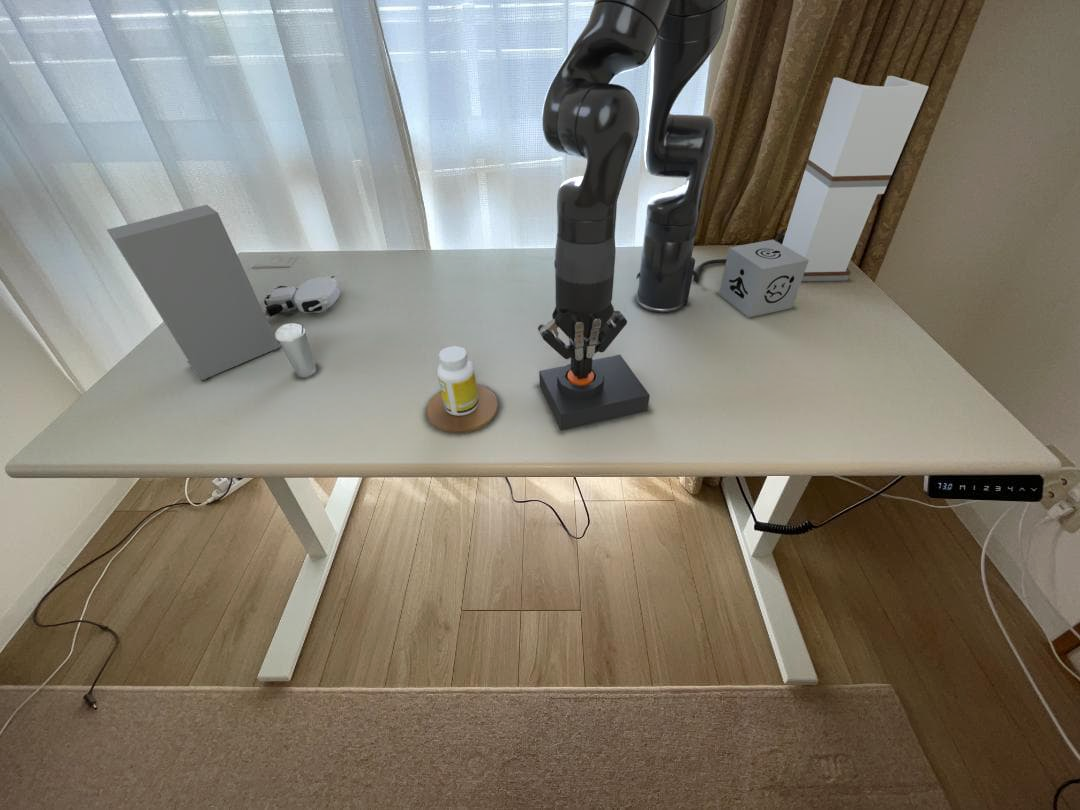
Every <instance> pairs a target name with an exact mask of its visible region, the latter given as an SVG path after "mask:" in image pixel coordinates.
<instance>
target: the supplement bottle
mask: <svg viewBox="0 0 1080 810" xmlns="http://www.w3.org/2000/svg"><path fill="white" fill-rule="evenodd" d="M438 359H439V365H438V366H437V370H436V372H437V373H436V374H437V379H438V384H439V390H440V391H441V394H442V399H443V403H444V407H445V409H446V411H447V412H448V413H450V414H452V415H457V416H461V415H467V414H469V413H471V412H473V411H474V410H475V409H476V408H477V406H478V403H479V399H478V392H477V386H476V385H477V379H476V373H475V368H474V364H473V363H472V361H470V360H469V358H468V352H467V350H466V349H465V348H464V347H463V346H458V345H452V346H447V347H445V348H443V349H441V350H440V352H439V353H438Z"/></svg>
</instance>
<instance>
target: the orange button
mask: <svg viewBox="0 0 1080 810" xmlns="http://www.w3.org/2000/svg"><path fill="white" fill-rule="evenodd" d="M567 381H568V382H570V383H572V384H574V385H580V386H584V385H588V384H591V383H592V382H593V381H594V373H593V372H592V371H591V373H590V374H588V378H583V379H578V378H577V376H576V377H575V376H574V374H573V372H572V370H570V371H569V372H568V377H567Z"/></svg>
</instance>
